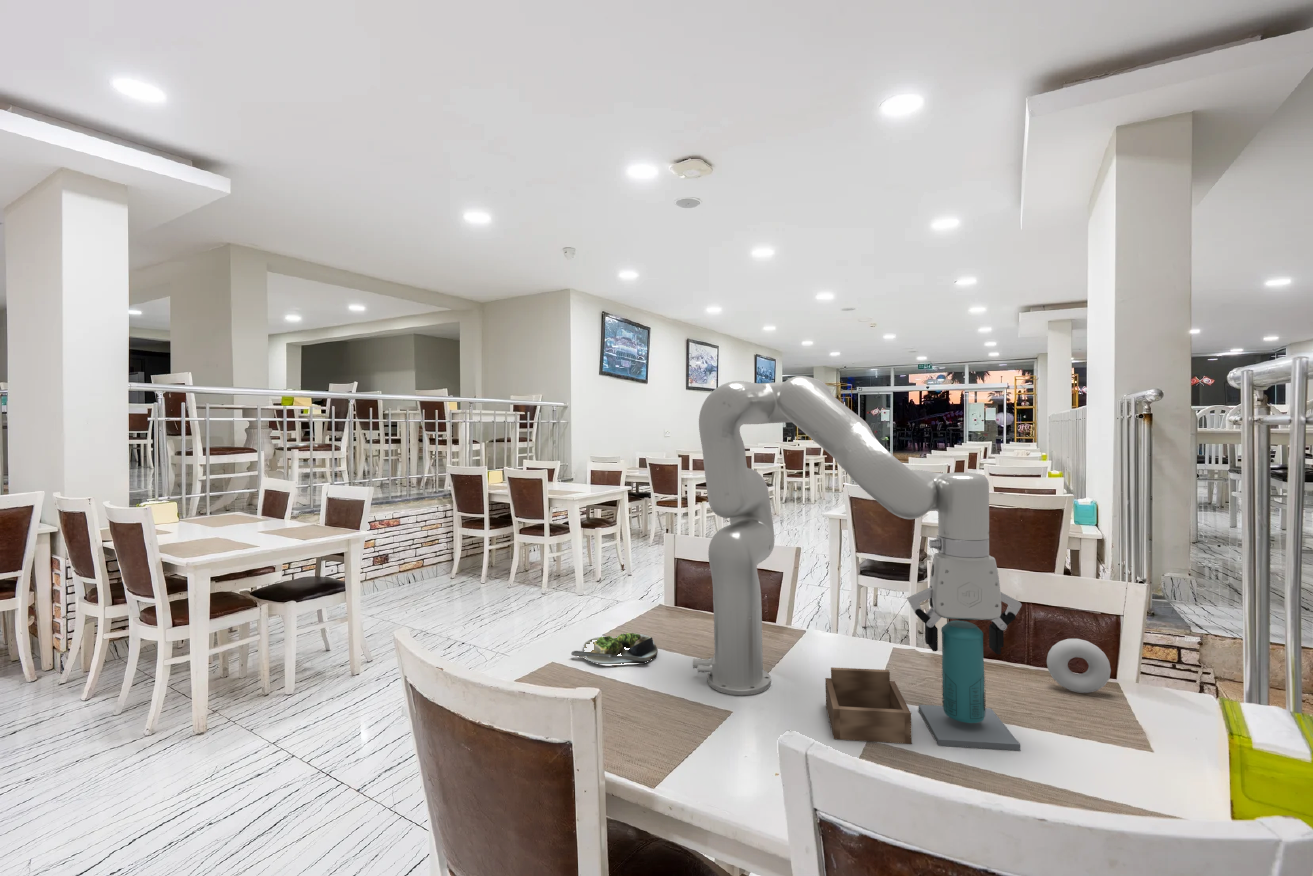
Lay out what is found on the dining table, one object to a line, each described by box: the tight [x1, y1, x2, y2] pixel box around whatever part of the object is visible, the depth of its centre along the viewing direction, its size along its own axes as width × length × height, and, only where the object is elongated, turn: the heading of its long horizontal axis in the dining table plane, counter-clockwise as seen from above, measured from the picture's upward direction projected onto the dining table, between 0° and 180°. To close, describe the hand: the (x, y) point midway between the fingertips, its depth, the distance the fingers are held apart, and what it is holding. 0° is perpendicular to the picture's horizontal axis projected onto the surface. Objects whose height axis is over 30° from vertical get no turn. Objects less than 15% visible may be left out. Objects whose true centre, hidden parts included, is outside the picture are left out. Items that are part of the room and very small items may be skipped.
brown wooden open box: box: [824, 666, 912, 745], centre depth 103 cm, size 12×12×7 cm
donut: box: [1046, 638, 1112, 694], centre depth 113 cm, size 10×4×10 cm, turn 65°
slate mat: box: [917, 704, 1021, 752], centre depth 101 cm, size 12×12×1 cm
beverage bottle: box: [940, 619, 987, 723], centre depth 100 cm, size 6×7×20 cm
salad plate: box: [571, 632, 659, 664], centre depth 137 cm, size 19×18×5 cm
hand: (963, 649), depth 100 cm, fingers open, 9 cm apart
